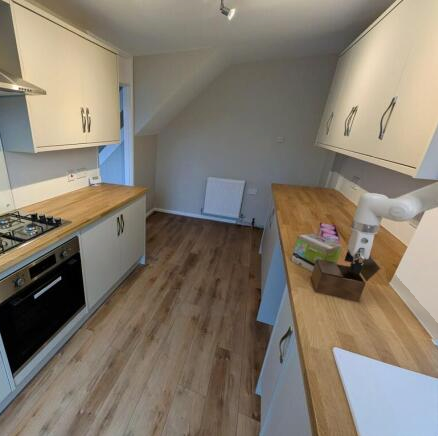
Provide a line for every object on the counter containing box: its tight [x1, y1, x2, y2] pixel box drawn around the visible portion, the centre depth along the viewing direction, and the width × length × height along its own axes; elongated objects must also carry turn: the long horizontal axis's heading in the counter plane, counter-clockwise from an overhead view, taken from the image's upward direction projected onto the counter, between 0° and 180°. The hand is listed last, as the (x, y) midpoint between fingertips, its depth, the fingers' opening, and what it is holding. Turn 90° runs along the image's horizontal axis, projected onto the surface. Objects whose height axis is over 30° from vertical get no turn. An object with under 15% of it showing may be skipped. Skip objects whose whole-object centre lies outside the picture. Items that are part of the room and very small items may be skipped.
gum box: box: [316, 222, 341, 245], centre depth 127 cm, size 24×8×14 cm, turn 147°
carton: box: [310, 259, 367, 303], centre depth 97 cm, size 14×12×10 cm
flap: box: [360, 254, 381, 282], centre depth 91 cm, size 7×12×1 cm
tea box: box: [291, 232, 343, 273], centre depth 113 cm, size 15×10×15 cm, turn 21°
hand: (351, 267), depth 93 cm, fingers open, 9 cm apart
